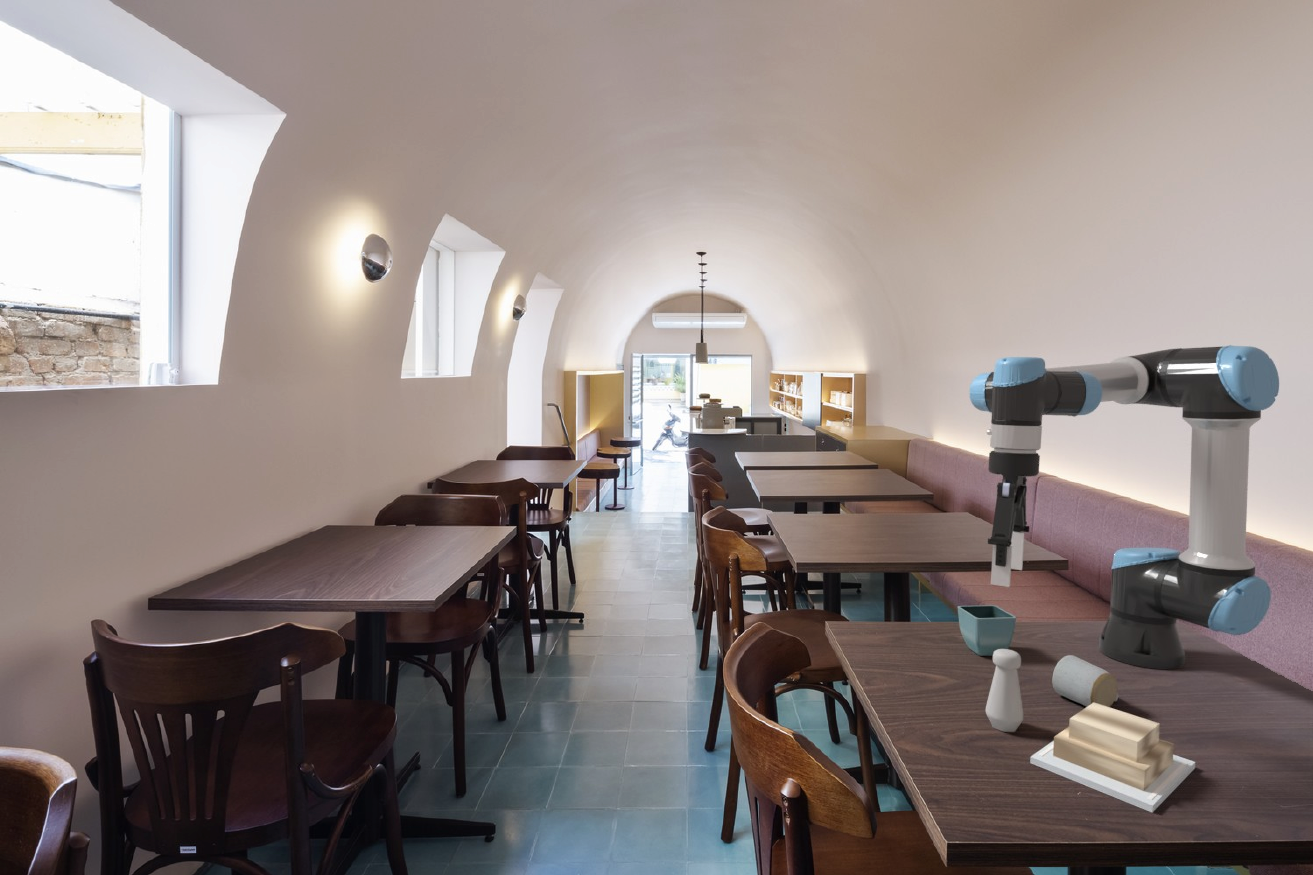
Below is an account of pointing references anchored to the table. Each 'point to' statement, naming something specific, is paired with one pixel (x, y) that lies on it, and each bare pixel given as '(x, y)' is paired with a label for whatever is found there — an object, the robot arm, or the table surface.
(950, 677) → the table surface
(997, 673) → the salt shaker
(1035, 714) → the table surface
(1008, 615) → the flower pot
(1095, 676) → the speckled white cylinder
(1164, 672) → the table surface
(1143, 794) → the board
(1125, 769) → the birch plinth
